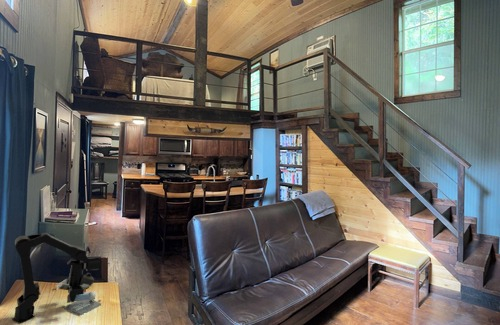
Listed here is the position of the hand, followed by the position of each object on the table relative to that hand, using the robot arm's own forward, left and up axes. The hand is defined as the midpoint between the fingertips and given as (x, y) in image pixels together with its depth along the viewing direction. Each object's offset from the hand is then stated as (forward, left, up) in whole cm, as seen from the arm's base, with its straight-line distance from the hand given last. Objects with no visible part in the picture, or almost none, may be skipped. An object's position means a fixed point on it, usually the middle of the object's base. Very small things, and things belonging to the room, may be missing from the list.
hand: (72, 302), depth 148 cm
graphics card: (+16, +20, -4) cm, 25 cm away
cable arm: (+5, -1, -1) cm, 5 cm away
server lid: (+3, -4, -3) cm, 6 cm away
